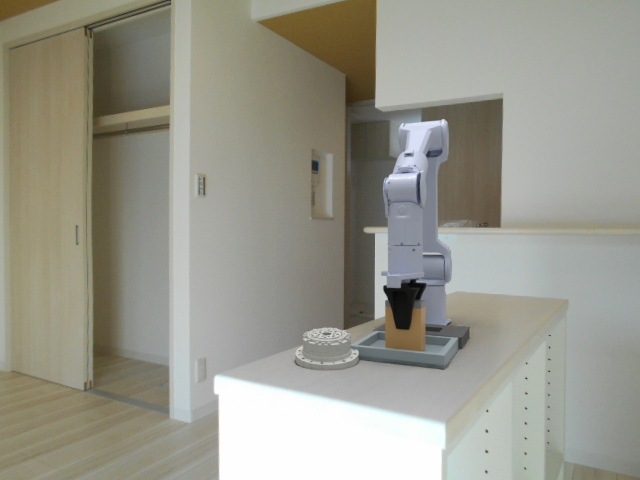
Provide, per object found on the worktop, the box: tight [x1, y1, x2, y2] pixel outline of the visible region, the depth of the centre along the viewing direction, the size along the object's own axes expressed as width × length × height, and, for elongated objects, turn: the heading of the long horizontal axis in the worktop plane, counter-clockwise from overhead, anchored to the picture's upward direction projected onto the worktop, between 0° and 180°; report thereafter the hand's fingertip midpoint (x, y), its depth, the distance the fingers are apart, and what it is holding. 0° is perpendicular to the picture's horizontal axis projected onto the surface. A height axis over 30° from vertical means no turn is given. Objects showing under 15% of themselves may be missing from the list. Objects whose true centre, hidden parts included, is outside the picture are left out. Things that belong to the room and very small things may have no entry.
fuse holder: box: [372, 323, 471, 350], centre depth 87 cm, size 10×16×2 cm, turn 65°
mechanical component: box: [294, 327, 360, 371], centre depth 72 cm, size 10×4×10 cm
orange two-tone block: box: [384, 299, 426, 352], centre depth 76 cm, size 3×6×8 cm, turn 65°
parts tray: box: [351, 331, 459, 370], centre depth 76 cm, size 13×15×2 cm
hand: (405, 327), depth 76 cm, fingers closed on orange two-tone block, 3 cm apart
